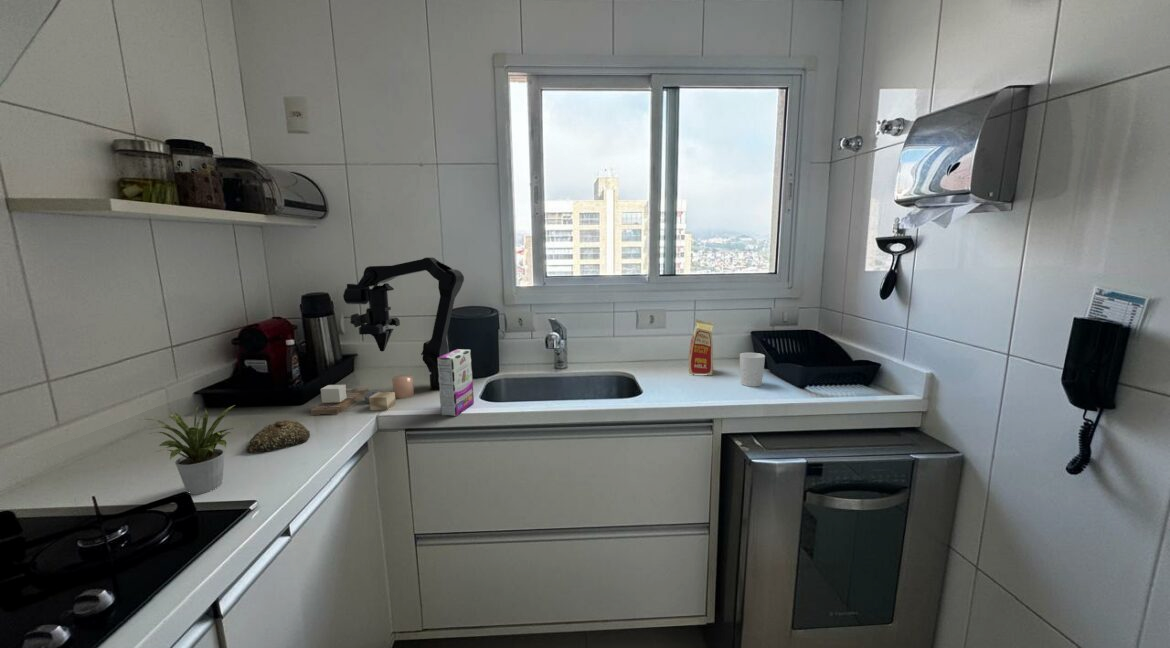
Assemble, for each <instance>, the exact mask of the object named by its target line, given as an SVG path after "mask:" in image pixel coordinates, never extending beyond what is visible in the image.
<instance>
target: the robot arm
mask: <svg viewBox="0 0 1170 648" xmlns="http://www.w3.org/2000/svg"><path fill="white" fill-rule="evenodd" d="M424 271H426V272H428V274H430V276H431V277H433V279H435V280H436V281H438V283H437V285H438V291H439V300H438V305H437V310H436V311H437V312H436V314H435V315H436V316H435V320H434V324H433V330H432V335H431V338H430V340H427V341H426V342H425V341H424V342H423V345H422V351H421V353H420V356H422V361H423V362H424V364H425V365H426V367H427V369H428V372H429V373H430V374H429V383H430V385H429V386H430V389H429V390H430V391H439V378H438V364H437V358H439V357H441V356H443V355H445V354H447V353H449V352H448V350H449V346H448V341H447V336H448V331H449V327H450V323H451V318H452V313H453V308H454V304H455V299H456V297H457V296H458V294H459V292H460V290H461V288H462V287H463V284H464V281H465V277H464V275H463V273H462V271H460V270H458V269H453V268H452V267H450V266H448V265H447V264H444V263H443V262H441V261H439V260H438V259H436V258H435V257H430V256H429V257H423V258H421V259H417V260H412V261H407V262H403V263H398V264H393V265H392V264H391V265H370V266H367V267H365V268H364V271H363V274H362V277H361V278H360V280H359V282H357V283H347V284H346V288H345V290H344V291H343V295H342V296H343V301H344V303H346V305H367V304H368V308H366V309H365V312H366V313H363V314H359V313H357V312H356V313H354V314H352V315H350V320H349V321H350V324H351V325H353V326H354V328H358V335H371V336H372V337H373V338H374V339H375V342H376V344H377V346H378V349H379V351H380V352H384V351H386V349H387V345H388V343H389V340H390V338H391V336H392V333H393V332H394V328H390V326H395V327H400V325H401V323H400V319H399V318H398V317H397V316H396V317H394V316H393V317H392V316H391V317H390V310H392V307H391V306H389V297H388V292H391V291H394V289H395V288H394V287H393V286H392V285H390V284H389V281H392V280H394V279H396V278H398V277H401V276H406V275H411V274H415V273H421V272H424ZM381 284H382V285H381ZM370 287H372V288H370Z"/></svg>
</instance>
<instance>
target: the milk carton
mask: <svg viewBox="0 0 1170 648" xmlns="http://www.w3.org/2000/svg"><path fill="white" fill-rule="evenodd" d="M715 325H716V322H710V321H709V322H708V321H705V320H701V319H698V318H695V327H694V329H693V333H692V336H691V340H690V345H689V346H690V347H689V351H688V373H689V374H707V375H712V376H713V374H714V343H713V333H712V332H713V328H714V326H715ZM712 373H713V374H712ZM689 374H688V375H689Z"/></svg>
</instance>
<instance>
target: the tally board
mask: <svg viewBox="0 0 1170 648" xmlns="http://www.w3.org/2000/svg"><path fill="white" fill-rule="evenodd" d="M366 391H369V388H368V387H353V388H352V387H351V388H350V387H349V388H348V387H346V395H347V398H346V399H344V400H343V401H341V402H329V403H322V402H321V403H320V404H319V405H316V406H315V407H313V408H311V409H310V412H311V416H319V415H320V414H333V415H339V414H340V413H341V411H342V410H343V411H344V410H346V409H348V406H349V405H350V406H352V405H353V404H354V403H356V402H357V401H359V400H360V399H362V398H363V397H365V395H364V393H365V392H366ZM362 396H363V397H362ZM359 398H360V399H359ZM358 399H359V400H358ZM356 400H357V401H356ZM355 401H356V402H355ZM352 403H353V404H352ZM350 406H349V407H350ZM345 408H346V409H345ZM343 411H342V412H343ZM339 412H340V413H339ZM338 413H339V414H338ZM320 416H321V415H320Z"/></svg>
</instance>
